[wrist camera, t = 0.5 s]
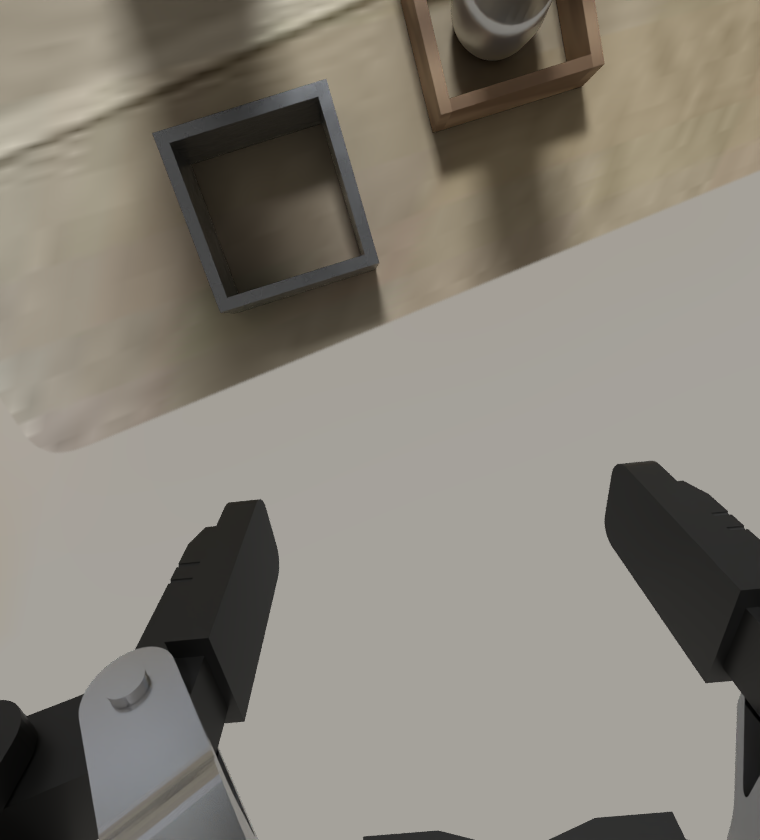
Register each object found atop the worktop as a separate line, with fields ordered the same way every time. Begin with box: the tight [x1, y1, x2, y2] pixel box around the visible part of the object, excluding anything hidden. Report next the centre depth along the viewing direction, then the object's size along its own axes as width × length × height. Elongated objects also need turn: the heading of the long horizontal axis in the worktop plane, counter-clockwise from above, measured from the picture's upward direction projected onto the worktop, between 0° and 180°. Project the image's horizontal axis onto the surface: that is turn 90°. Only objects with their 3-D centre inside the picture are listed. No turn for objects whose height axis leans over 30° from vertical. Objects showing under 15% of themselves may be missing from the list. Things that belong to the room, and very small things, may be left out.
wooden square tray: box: [401, 0, 605, 133], centre depth 30 cm, size 12×12×3 cm
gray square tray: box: [152, 79, 379, 313], centre depth 32 cm, size 12×12×4 cm
